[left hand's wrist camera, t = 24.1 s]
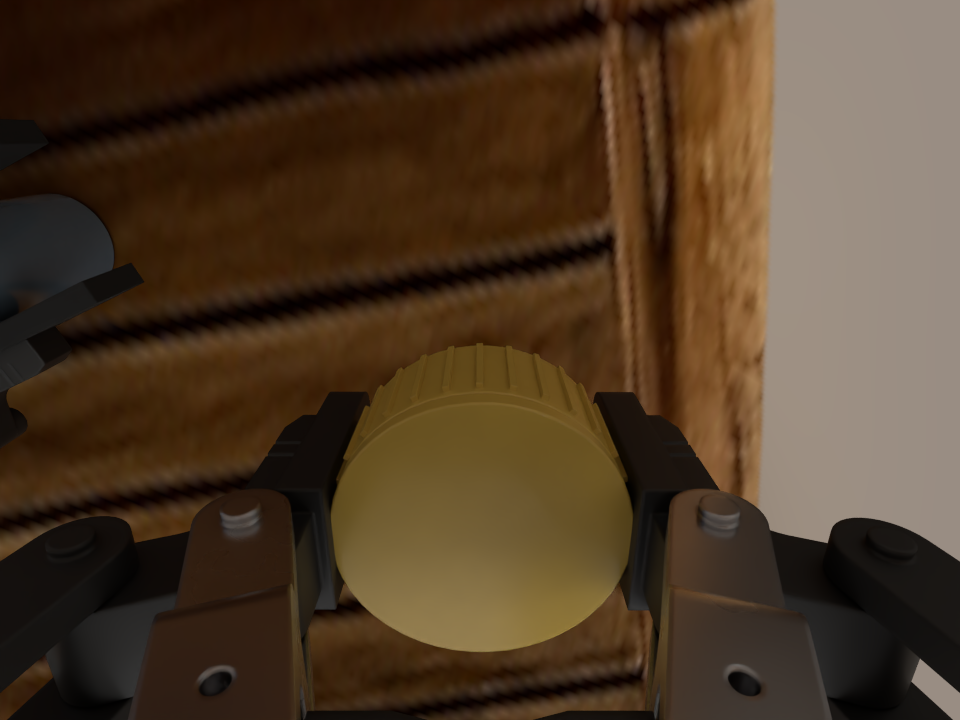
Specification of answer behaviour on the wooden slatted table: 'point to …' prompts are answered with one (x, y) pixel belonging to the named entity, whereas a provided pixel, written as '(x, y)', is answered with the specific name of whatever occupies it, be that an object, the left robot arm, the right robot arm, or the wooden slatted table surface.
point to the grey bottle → (47, 249)
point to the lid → (481, 502)
